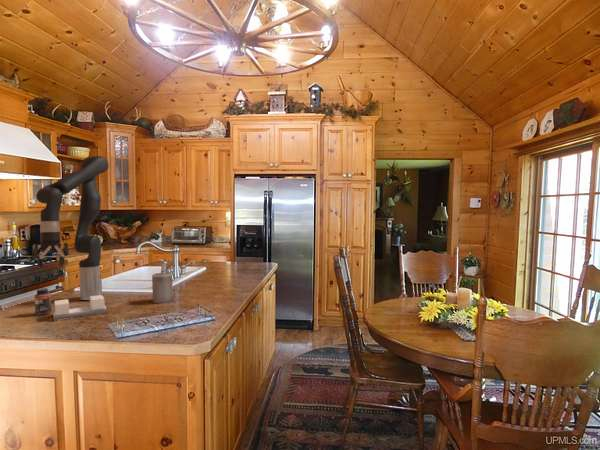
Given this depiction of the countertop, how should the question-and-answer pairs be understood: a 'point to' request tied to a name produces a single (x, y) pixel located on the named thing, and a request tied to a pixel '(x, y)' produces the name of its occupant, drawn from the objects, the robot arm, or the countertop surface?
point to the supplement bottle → (42, 302)
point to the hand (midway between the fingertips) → (51, 266)
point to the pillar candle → (162, 287)
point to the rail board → (65, 312)
